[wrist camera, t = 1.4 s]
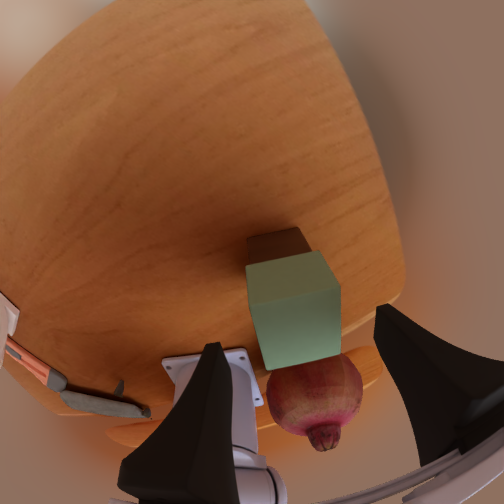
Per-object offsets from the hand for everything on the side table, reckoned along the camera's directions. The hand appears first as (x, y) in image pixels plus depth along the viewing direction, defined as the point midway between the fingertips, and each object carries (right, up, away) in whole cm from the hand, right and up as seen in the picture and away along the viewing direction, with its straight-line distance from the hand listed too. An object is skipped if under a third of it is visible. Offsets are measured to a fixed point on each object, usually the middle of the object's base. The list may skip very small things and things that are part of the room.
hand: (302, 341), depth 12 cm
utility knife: (-25, -13, +14) cm, 31 cm away
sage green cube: (0, +2, +4) cm, 4 cm away
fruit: (+3, -6, +13) cm, 14 cm away
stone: (-21, -13, +13) cm, 27 cm away
